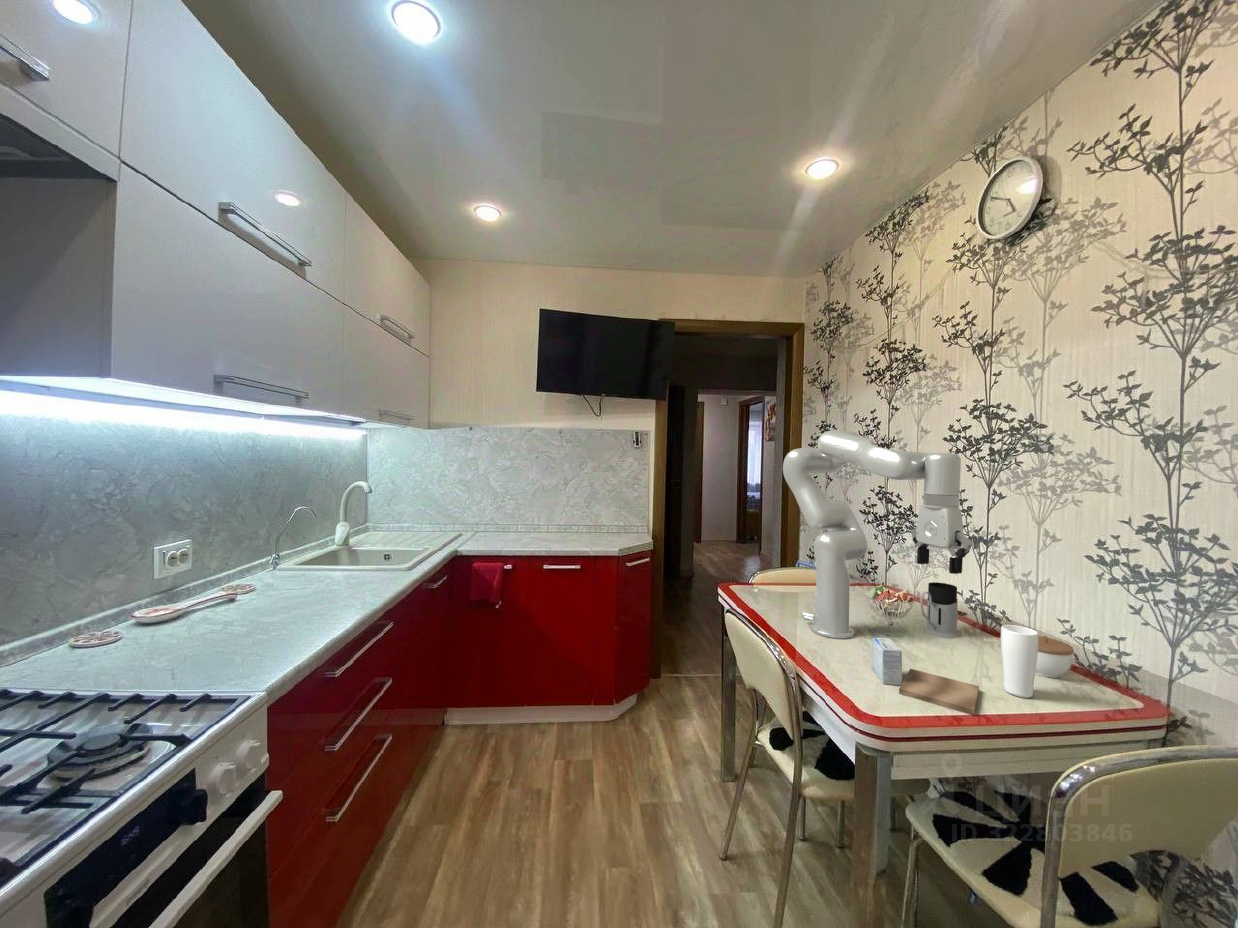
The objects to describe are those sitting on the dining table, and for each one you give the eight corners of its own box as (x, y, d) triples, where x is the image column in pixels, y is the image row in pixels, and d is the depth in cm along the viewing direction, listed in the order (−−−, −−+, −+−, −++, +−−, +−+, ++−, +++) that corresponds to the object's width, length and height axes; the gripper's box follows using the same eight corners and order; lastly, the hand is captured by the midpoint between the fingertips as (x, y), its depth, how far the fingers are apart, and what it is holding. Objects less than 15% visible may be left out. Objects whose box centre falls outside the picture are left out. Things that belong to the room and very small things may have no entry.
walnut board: (899, 693, 111) (899, 688, 111) (910, 673, 121) (910, 668, 121) (974, 715, 101) (974, 709, 101) (978, 691, 112) (979, 686, 112)
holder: (965, 635, 147) (966, 587, 147) (934, 642, 142) (935, 592, 142) (936, 626, 155) (937, 580, 155) (906, 632, 150) (907, 584, 150)
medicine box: (902, 686, 114) (903, 650, 114) (882, 684, 115) (882, 648, 115) (890, 671, 122) (891, 638, 122) (871, 670, 123) (872, 636, 123)
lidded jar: (1082, 685, 116) (1083, 646, 116) (1029, 678, 119) (1030, 641, 119) (1058, 666, 126) (1059, 631, 126) (1009, 660, 129) (1010, 626, 129)
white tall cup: (1028, 688, 113) (1030, 626, 113) (1043, 702, 107) (1044, 636, 107) (994, 684, 116) (995, 622, 115) (1006, 697, 109) (1008, 632, 109)
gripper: (901, 498, 129) (899, 560, 129) (959, 505, 112) (956, 577, 112) (925, 497, 130) (923, 560, 131) (985, 505, 113) (982, 576, 114)
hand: (938, 568), depth 121 cm, fingers open, 9 cm apart
